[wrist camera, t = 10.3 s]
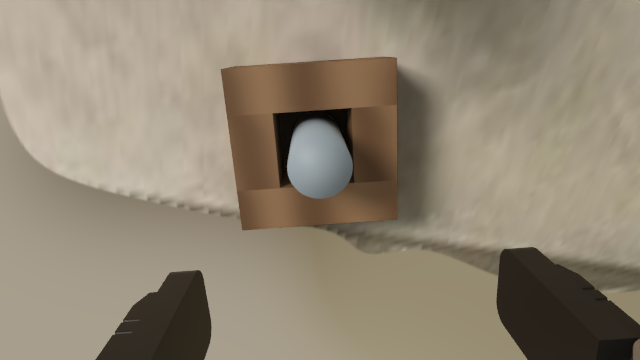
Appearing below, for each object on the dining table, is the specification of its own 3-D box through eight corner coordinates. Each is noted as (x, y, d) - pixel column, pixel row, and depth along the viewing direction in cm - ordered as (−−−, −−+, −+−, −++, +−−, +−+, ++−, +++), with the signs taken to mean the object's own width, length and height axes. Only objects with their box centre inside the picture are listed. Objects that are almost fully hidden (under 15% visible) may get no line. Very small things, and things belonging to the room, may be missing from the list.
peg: (338, 109, 33) (351, 133, 24) (340, 156, 34) (353, 196, 25) (290, 113, 33) (284, 137, 24) (294, 159, 34) (289, 201, 25)
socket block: (383, 56, 32) (396, 57, 27) (385, 197, 36) (397, 219, 31) (233, 66, 32) (220, 69, 27) (250, 206, 36) (242, 230, 31)
